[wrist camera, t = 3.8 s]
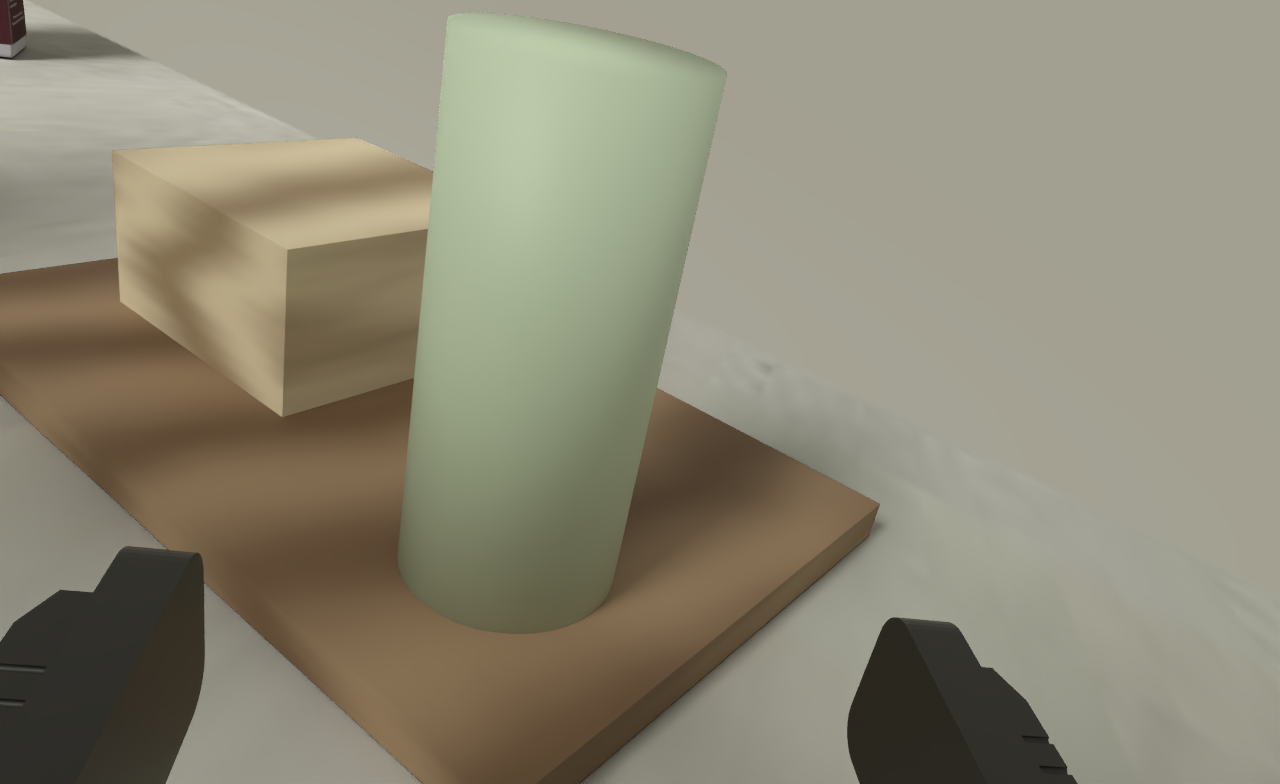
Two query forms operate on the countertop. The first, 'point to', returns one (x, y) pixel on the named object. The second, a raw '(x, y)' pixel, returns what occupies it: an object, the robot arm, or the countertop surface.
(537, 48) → the sage cylinder
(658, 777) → the countertop surface
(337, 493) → the walnut board
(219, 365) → the beech brick
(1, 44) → the supplement box
